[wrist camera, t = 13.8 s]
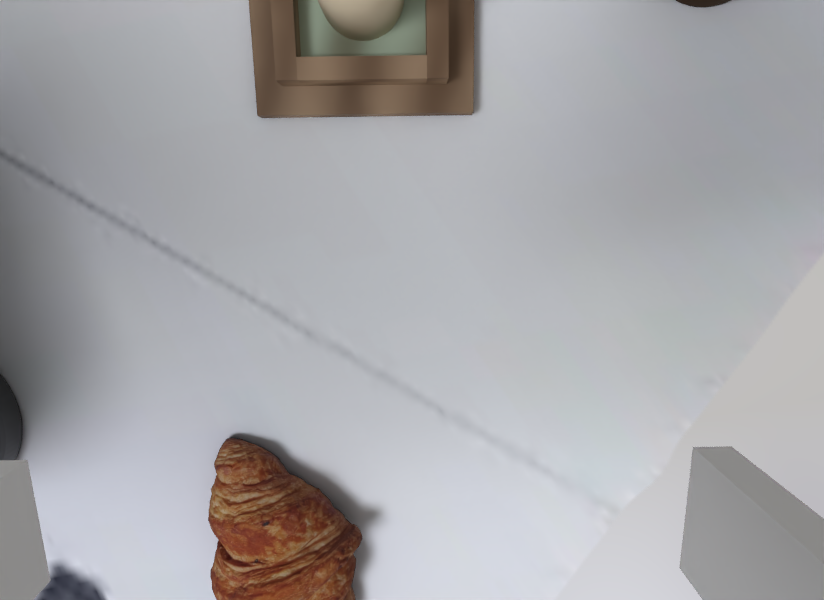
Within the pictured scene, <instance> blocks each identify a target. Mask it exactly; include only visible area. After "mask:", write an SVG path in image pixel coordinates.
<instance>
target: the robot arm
mask: <svg viewBox="0 0 824 600" xmlns="http://www.w3.org/2000/svg"><path fill="white" fill-rule="evenodd" d="M21 438H22V422H21V416H20V412H19V408H18V405H17V402H16V400H15V397H14V395H13V393H12V391H11V390H10V388H9V386H8V385H7V383H6V382H5V380H4V379H3V377H2V376H1V375H0V600H33V599H34V598H35V597H36V596H37V595H38V594H39V593H40V592H41V591H42V589H43V588H44V587H45V586H46V585H47V584H48V583H49V582H50V576H49V571H48V565H47V560H46V555H45V550H44V545H43V539H42V534H41V529H40V524H39V519H38V513H37V508H36V503H35V498H34V493H33V487H32V482H31V477H30V472H29V466H28V461H27V460H15V459H16V457H17V455H18V452H19V449H20V445H21ZM683 533H684V534H683V542H682V550H681V560H680V569H681V570H682V572H683V573H684V575H685V576H686V577H687V579H688V580H689V582H690V583H691V584H692V585H693V587H694V588H695V590H696V591H697V592H698V594H699V595H700V597H701V598H702V599H703V600H824V519H823V518H822V517H821V516H819V515H818V514H817V513H816V512H814V511H813V510H812V509H811V508H809V507H808V506H807V505H805V504H804V503H803V502H802V501H800V500H799V499H798V498H796V497H795V496H794V495H793V494H791V493H790V492H789V491H787V490H786V489H785V488H784V487H782V486H781V485H780V484H779V483H777V482H776V481H775V480H773V479H772V478H771V477H770V476H768V475H767V474H766V473H765V472H763V471H762V470H761V469H759V468H758V467H757V466H756V465H754V464H753V463H752V462H751V461H749V460H748V459H747V458H745V457H744V456H743V455H742V454H740V453H739V452H738V451H736V450H735V449H734V448H732V447H693V452H692V460H691V469H690V478H689V488H688V496H687V506H686V515H685V523H684V532H683Z"/></svg>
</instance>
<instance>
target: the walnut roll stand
mask: <svg viewBox="0 0 824 600" xmlns="http://www.w3.org/2000/svg"><path fill="white" fill-rule="evenodd" d="M249 9H250V22H251V35H252V49H253V62H254V75H255V88H256V102H257V115H258V116H259V117H261V118H292V117H361V116H430V115H472V113H473V93H474V0H404V5H403V9H402V13H401V15H400V17H399V19H398V21H397V22H396V24H395V25H394V26H393V28H392V29H391V30H390V31H389V32H387V33H386V34H385V35H383V36H381V37H379V38H377V39H374V40H370V41H356V40H352V39H349V38H347V37H345V36H343V35H341V34H340V33H338V32H337V31H336V30H335V29H334V28H333V27H332V26H331V25H330V24H329V22H328V21H327V19H326V18H325V15H324V13H323V11H322V9H321V7H320V4H319V2H318V0H249Z"/></svg>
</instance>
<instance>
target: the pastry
mask: <svg viewBox="0 0 824 600" xmlns="http://www.w3.org/2000/svg"><path fill="white" fill-rule="evenodd" d="M214 465H215V469H216V473H217V476H216V479H215V483H214V485H213V486H212V488H211V492H212V495H211V500H210V507H209V518H208V521H209V523H210V526H211V529H212V531H213V532H214V534H215V535H216V537H217V538H218V539H219V541H218V546H217V550H216V553H215V559H214V563H213V567H212V569H211V580H212V590H213V592H214V595H215V597H216V599H217V600H355V594H354V591H353V589H352V587H351V584H352V581H353V577H354V571H355V566H356V558H355V557H354V555H353V553H354V552H355V551H356V549H357V548H358V547H359V545H360V543H361V540H362V535H361V532H360V530H359V528H358V527H357V526H356V525H354V524H351V523H350V522H349V521H348V520H346V519H345V517H344V515H343V514H342V513H341V512H340V511H339V510H337V509H335V508H334V507H333V506H332V504H331V501H330V500H329V499H328V498H327V497H326V496H325V495H324V494H323V493H322V492H321V491H320V490H319V489H318V488H315V487H313V486H312V485H308V484H307V483H306V482H305V481H303V480H302V479H300V478H298V477H297V476H295V475H291V474H289V473H288V472H287V470H286V469H285V467H284V466H283V464H282V463H281V462H280V460H279V458H277V457H276V456H275V455H273V454H272V453H271V452H269V451H267V450H265V449H264V448H262V447H259V446H257V445H256V444H252V443H249V442H247V441H243V440H242V439H235V438H228V439H227V440H226V441H225V442H224V443H223V445H222V447H221V448H220V450H219V453H218V455H217V458H216V460H215V463H214Z"/></svg>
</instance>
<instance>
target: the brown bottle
mask: <svg viewBox="0 0 824 600" xmlns="http://www.w3.org/2000/svg"><path fill="white" fill-rule="evenodd" d="M676 1H678V2H680V3H683V4H686V5H689V6H694V7H711V6H716V5H720V4H723V3H726V2H728V1H731V0H676Z"/></svg>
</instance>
